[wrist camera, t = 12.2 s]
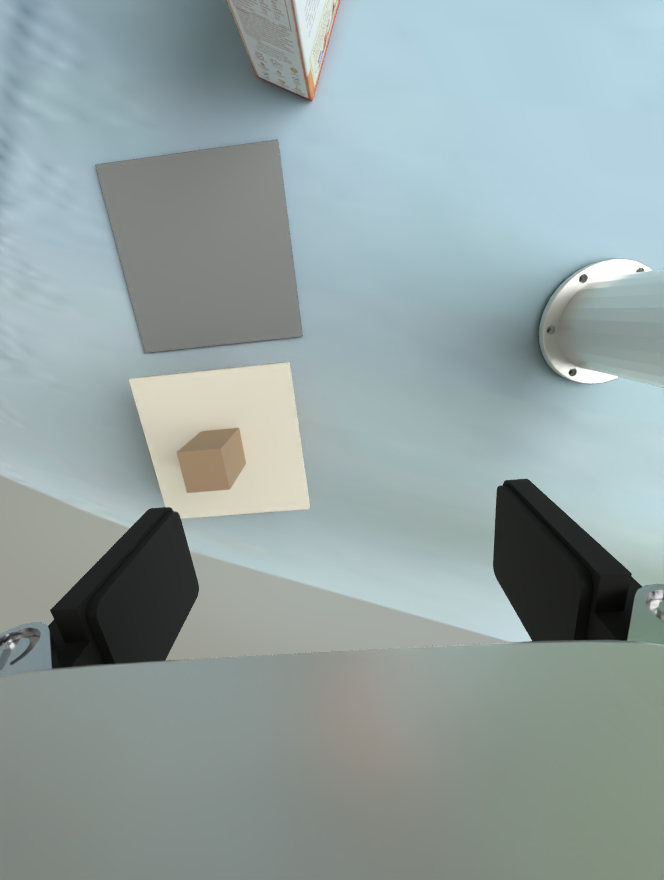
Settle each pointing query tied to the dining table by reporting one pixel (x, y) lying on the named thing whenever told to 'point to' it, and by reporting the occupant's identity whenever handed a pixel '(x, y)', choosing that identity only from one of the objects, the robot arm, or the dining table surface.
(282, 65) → the cracker box
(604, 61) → the dining table surface
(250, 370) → the lid
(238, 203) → the mat
